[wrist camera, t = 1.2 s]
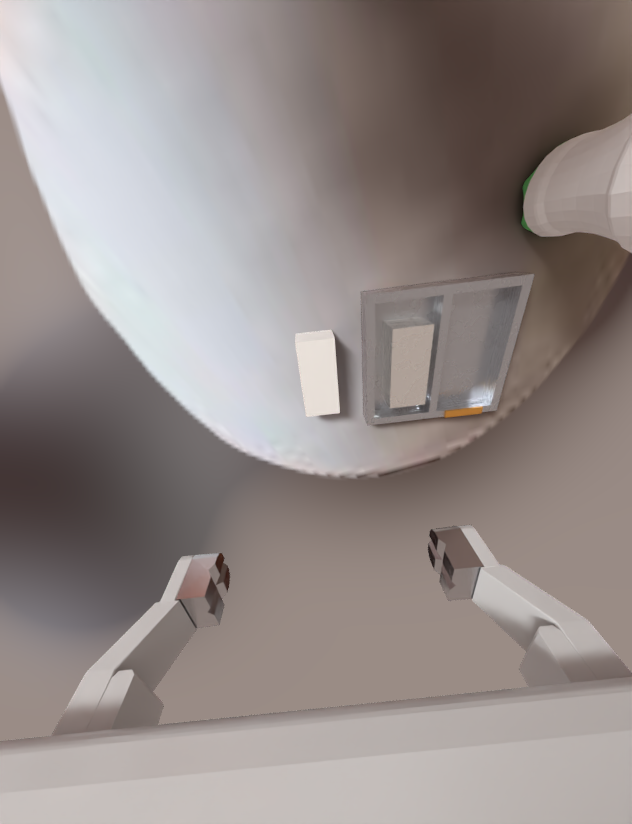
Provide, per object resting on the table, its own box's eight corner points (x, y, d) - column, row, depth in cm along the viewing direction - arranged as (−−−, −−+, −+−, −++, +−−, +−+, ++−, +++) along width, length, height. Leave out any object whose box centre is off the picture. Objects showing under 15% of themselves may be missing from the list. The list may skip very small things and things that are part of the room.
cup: (565, 265, 31) (737, 273, 19) (478, 245, 29) (603, 240, 17) (641, 131, 25) (959, 19, 13) (538, 99, 24) (786, -62, 12)
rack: (360, 291, 31) (369, 297, 27) (515, 272, 31) (548, 275, 27) (363, 415, 40) (370, 434, 36) (483, 401, 40) (504, 419, 36)
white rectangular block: (295, 333, 34) (295, 342, 30) (331, 329, 34) (334, 337, 30) (305, 402, 39) (306, 416, 35) (336, 398, 39) (340, 413, 35)
